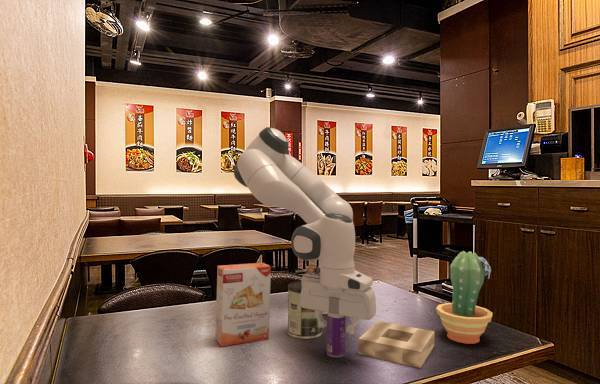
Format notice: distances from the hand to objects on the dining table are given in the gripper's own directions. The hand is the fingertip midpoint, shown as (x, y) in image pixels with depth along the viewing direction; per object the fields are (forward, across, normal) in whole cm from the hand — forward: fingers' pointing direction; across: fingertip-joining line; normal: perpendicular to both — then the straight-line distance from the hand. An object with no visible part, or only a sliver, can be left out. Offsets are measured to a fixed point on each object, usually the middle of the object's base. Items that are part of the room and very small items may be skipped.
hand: (336, 330), depth 107 cm
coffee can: (+6, -14, +9) cm, 18 cm away
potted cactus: (+6, +27, +30) cm, 41 cm away
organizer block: (+6, +13, +11) cm, 18 cm away
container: (+6, 0, 0) cm, 6 cm away
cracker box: (+6, -26, -5) cm, 27 cm away
